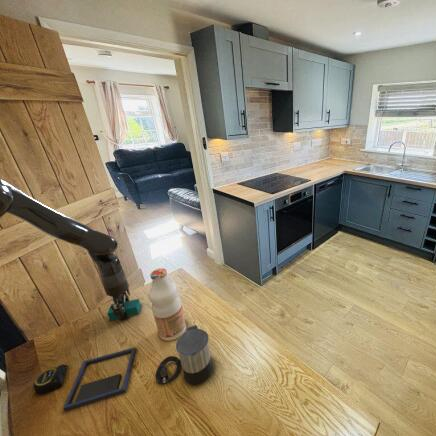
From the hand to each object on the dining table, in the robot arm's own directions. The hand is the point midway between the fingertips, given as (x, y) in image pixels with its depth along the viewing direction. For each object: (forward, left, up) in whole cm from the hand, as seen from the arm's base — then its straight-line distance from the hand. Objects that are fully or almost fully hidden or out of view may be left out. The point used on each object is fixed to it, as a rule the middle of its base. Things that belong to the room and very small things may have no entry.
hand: (126, 313), depth 99 cm
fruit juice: (+19, -16, -1) cm, 25 cm away
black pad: (0, -32, -1) cm, 32 cm away
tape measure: (-14, -24, -1) cm, 28 cm away
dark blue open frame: (0, -28, -1) cm, 28 cm away
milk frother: (+24, -35, -1) cm, 42 cm away
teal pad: (0, 0, -1) cm, 1 cm away
